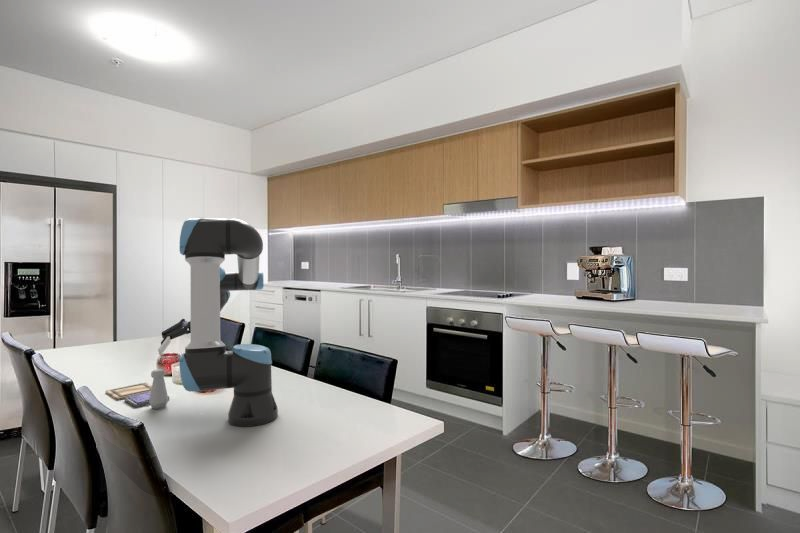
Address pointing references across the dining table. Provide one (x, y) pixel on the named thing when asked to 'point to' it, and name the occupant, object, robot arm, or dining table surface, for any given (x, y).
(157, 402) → the salt shaker
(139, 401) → the ink pad
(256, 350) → the robot arm
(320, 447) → the dining table surface
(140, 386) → the marked board
